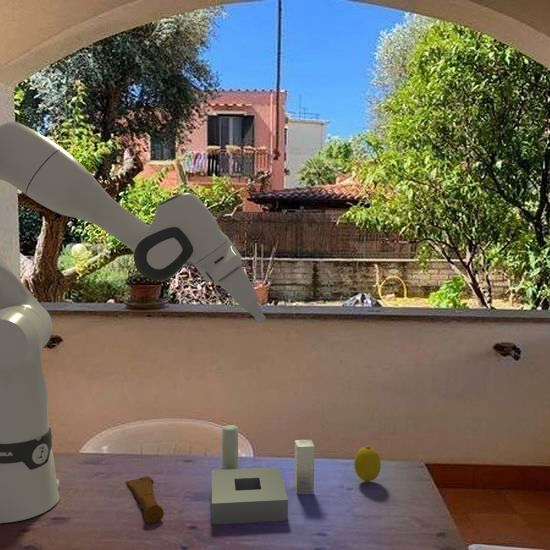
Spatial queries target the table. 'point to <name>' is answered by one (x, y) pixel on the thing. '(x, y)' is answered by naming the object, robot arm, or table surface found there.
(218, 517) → the socket block
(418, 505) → the table surface
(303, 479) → the square bit
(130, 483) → the primitive tool
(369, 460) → the lemon
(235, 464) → the round bit
